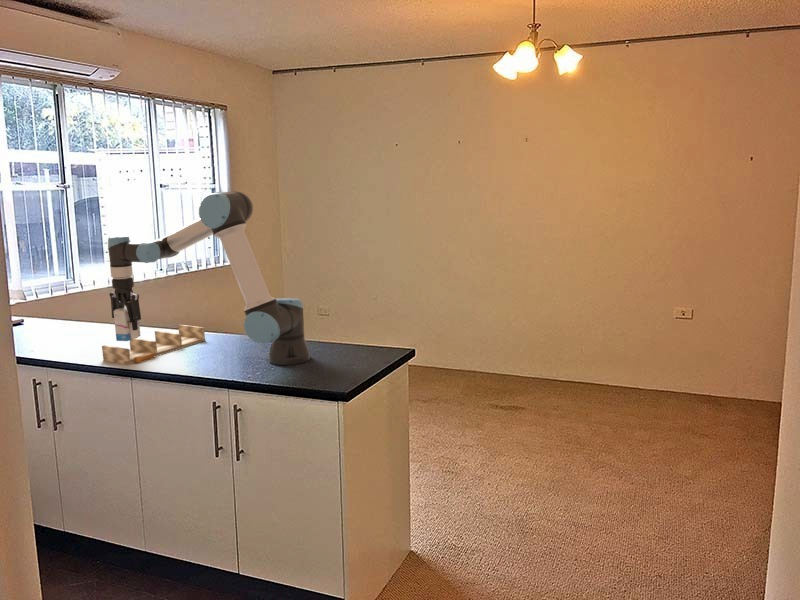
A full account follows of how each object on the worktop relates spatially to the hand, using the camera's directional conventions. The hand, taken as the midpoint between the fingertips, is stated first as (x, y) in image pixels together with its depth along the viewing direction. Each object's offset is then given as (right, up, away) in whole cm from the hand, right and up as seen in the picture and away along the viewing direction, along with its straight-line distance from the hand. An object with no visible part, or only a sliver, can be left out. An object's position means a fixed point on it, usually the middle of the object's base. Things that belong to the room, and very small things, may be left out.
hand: (128, 337), depth 256 cm
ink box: (0, -1, 0) cm, 1 cm away
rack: (+6, -6, +12) cm, 15 cm away
